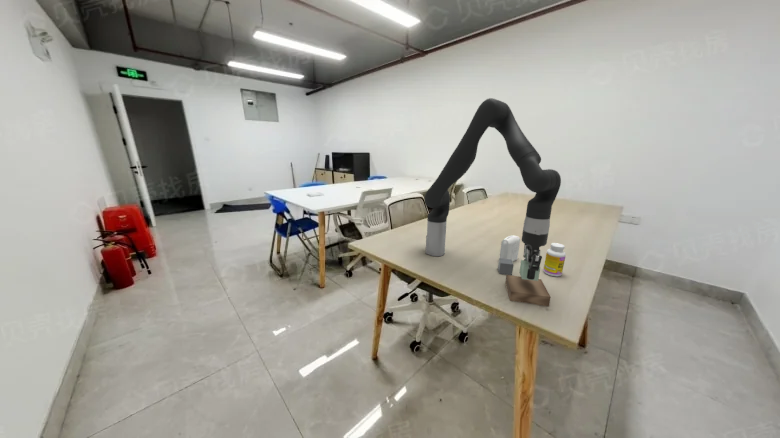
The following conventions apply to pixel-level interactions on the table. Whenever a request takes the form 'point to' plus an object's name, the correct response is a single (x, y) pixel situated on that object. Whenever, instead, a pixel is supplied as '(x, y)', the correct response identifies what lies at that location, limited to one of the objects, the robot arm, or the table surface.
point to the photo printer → (510, 248)
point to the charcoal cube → (505, 266)
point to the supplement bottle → (554, 260)
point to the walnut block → (527, 291)
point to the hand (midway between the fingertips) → (528, 274)
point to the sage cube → (524, 271)
